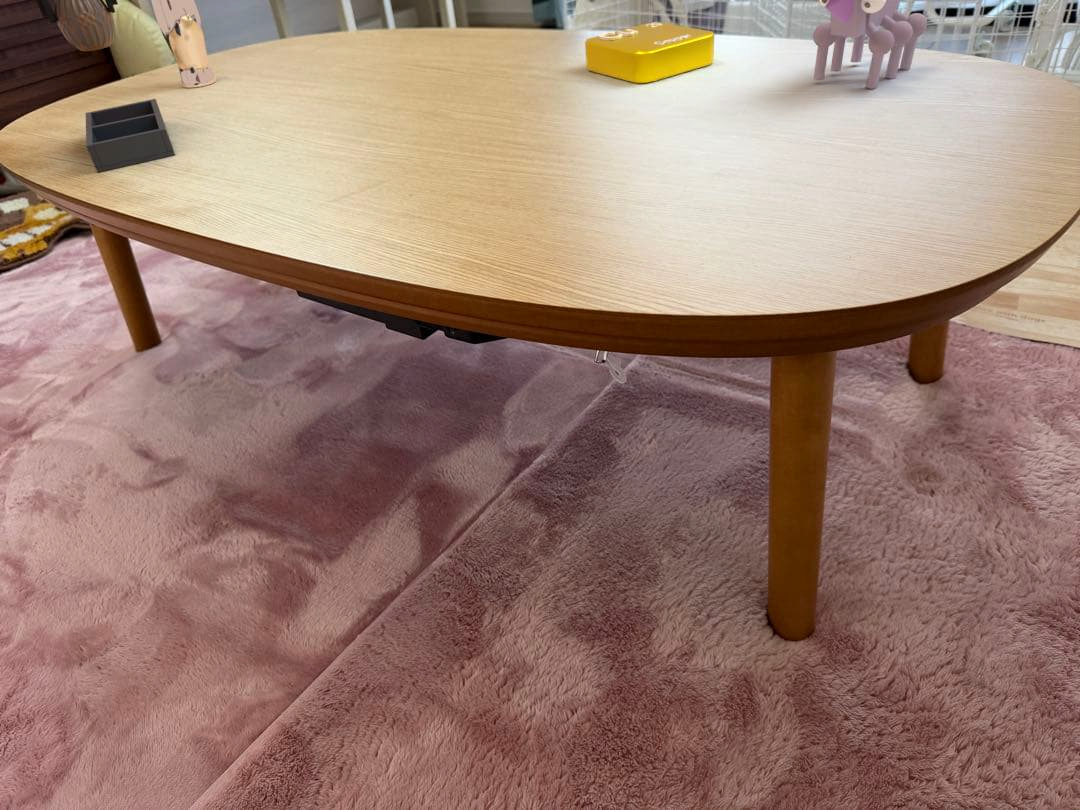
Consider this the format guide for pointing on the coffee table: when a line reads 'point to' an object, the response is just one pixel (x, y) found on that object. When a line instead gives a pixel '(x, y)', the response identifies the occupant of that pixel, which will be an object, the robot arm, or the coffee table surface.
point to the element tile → (649, 52)
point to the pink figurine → (857, 12)
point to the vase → (85, 23)
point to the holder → (127, 135)
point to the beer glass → (185, 40)
